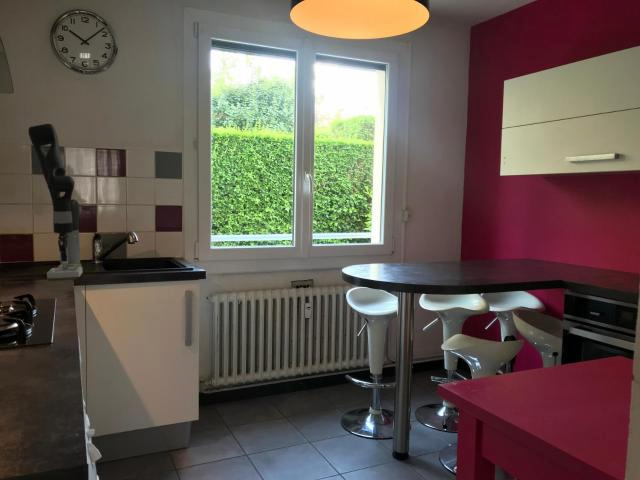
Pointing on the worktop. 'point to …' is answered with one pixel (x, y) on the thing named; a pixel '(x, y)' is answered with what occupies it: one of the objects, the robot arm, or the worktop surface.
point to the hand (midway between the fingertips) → (64, 260)
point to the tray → (64, 273)
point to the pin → (65, 264)
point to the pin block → (70, 265)
